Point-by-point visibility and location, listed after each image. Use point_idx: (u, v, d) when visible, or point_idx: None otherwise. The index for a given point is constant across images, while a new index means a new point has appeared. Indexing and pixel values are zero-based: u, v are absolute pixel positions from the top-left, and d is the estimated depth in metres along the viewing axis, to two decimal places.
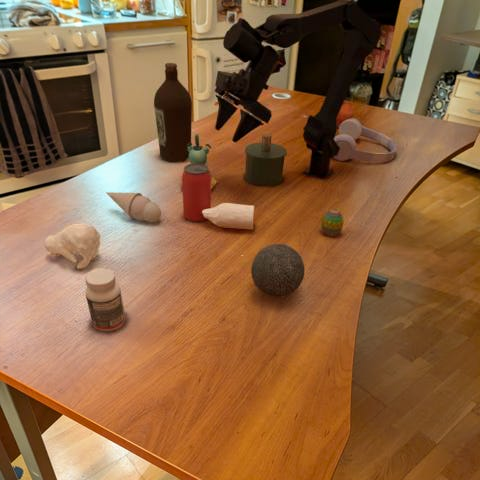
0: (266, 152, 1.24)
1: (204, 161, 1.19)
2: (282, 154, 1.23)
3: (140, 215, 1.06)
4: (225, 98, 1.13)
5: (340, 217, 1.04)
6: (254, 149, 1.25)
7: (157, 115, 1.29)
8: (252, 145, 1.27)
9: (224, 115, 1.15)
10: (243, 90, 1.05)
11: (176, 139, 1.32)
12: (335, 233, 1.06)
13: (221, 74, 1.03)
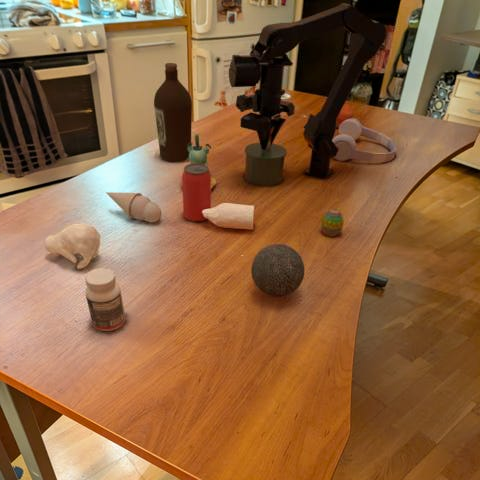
0: (266, 152, 1.24)
1: (204, 161, 1.19)
2: (282, 154, 1.23)
3: (140, 215, 1.06)
4: None
5: (340, 217, 1.04)
6: (254, 149, 1.25)
7: (157, 115, 1.29)
8: (252, 145, 1.27)
9: None
10: (253, 106, 1.17)
11: (176, 139, 1.32)
12: (335, 233, 1.06)
13: None
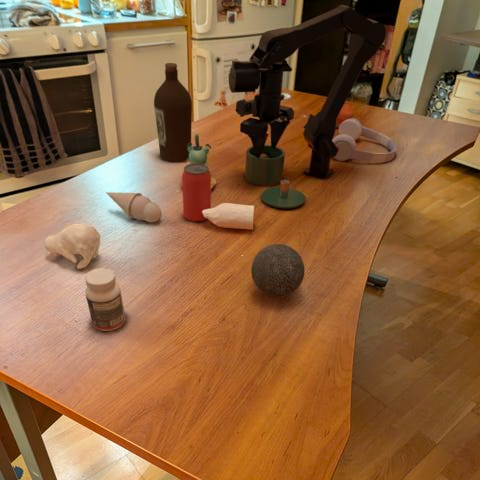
0: (284, 199, 1.18)
1: (204, 161, 1.19)
2: (301, 201, 1.17)
3: (140, 215, 1.06)
4: None
5: None
6: (271, 195, 1.19)
7: (157, 115, 1.29)
8: (268, 190, 1.22)
9: (275, 134, 1.26)
10: (253, 111, 1.18)
11: (176, 139, 1.32)
12: None
13: None
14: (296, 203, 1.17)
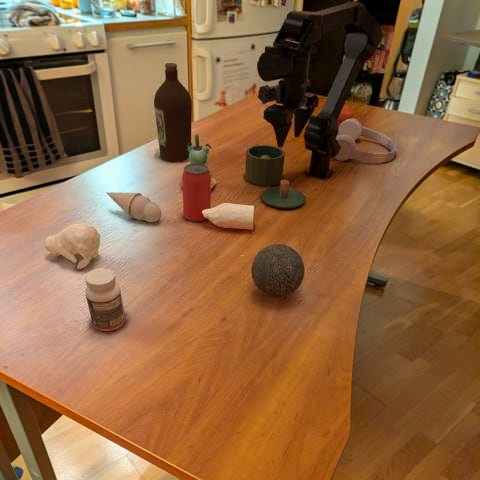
0: (284, 199, 1.18)
1: (204, 161, 1.19)
2: (301, 201, 1.17)
3: (140, 215, 1.06)
4: None
5: None
6: (271, 195, 1.19)
7: (157, 115, 1.29)
8: (268, 190, 1.22)
9: (299, 122, 1.20)
10: (276, 98, 1.11)
11: (176, 139, 1.32)
12: None
13: None
14: (296, 203, 1.17)
